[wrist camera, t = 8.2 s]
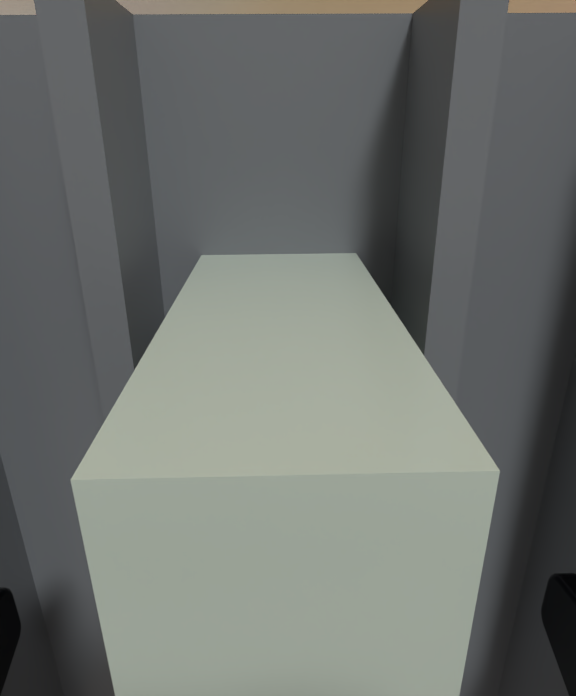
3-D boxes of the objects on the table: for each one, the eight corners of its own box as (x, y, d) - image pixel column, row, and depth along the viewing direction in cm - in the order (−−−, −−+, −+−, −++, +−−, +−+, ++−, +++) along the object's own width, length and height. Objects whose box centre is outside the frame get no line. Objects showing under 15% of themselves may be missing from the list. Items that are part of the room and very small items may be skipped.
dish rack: (503, 680, 17) (558, 812, 13) (61, 692, 16) (8, 831, 13) (653, 23, 10) (843, -31, 6) (-117, 26, 9) (-323, -28, 6)
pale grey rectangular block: (340, 621, 14) (396, 1042, 8) (228, 624, 14) (188, 1051, 7) (355, 253, 10) (499, 471, 4) (201, 255, 10) (71, 479, 4)
